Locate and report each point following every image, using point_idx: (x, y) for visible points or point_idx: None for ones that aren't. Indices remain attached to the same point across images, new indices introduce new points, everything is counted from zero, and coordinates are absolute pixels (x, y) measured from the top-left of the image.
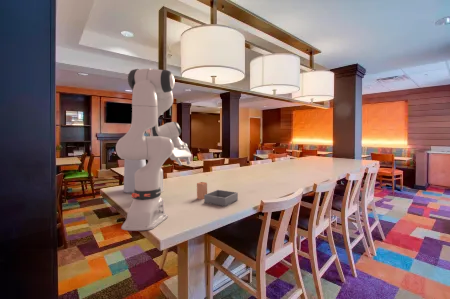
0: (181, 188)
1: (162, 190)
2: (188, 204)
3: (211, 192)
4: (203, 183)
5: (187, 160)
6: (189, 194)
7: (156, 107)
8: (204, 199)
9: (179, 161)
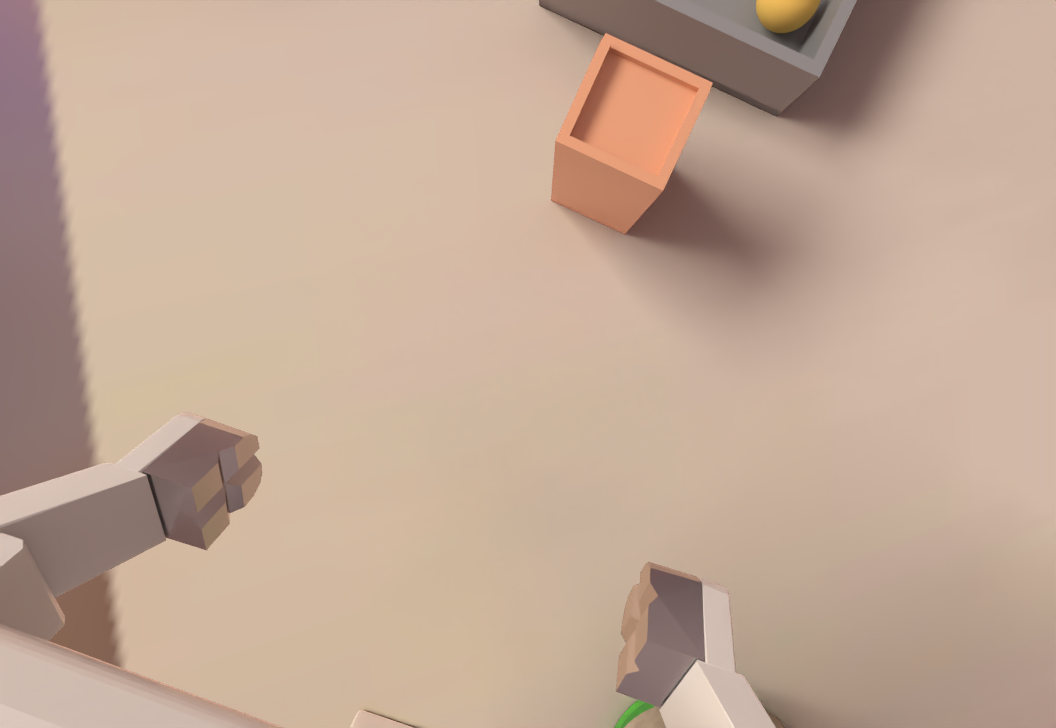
0: None
1: (371, 724)
2: (841, 272)
3: (691, 7)
4: (597, 99)
5: (64, 566)
6: (461, 366)
7: None
8: (793, 100)
9: (760, 715)
